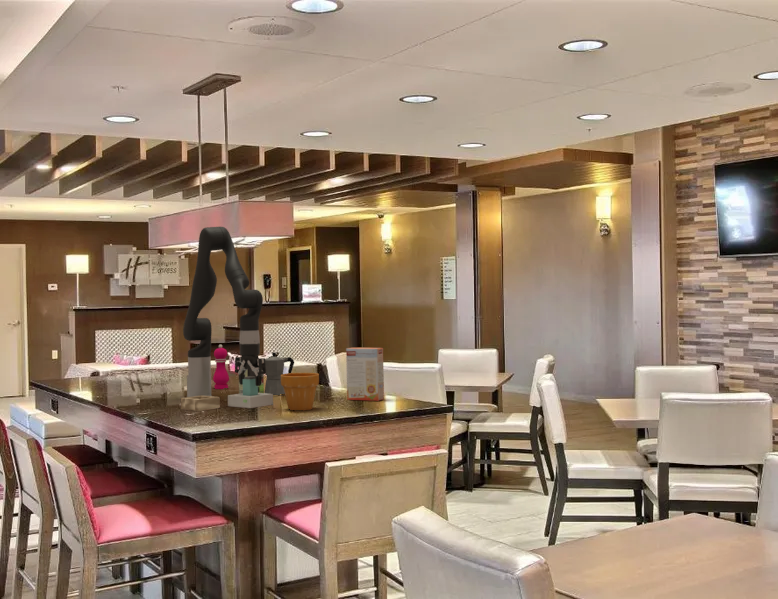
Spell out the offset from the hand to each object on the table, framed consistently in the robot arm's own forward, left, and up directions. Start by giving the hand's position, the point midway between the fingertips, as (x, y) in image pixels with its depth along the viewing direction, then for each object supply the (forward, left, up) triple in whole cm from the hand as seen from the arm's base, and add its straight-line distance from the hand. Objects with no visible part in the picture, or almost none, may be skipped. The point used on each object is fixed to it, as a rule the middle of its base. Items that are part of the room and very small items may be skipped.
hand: (250, 385), depth 345 cm
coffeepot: (-21, +36, -9) cm, 43 cm away
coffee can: (-18, +18, -9) cm, 27 cm away
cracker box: (+23, +41, -9) cm, 48 cm away
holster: (-10, -16, -9) cm, 21 cm away
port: (0, 0, -9) cm, 9 cm away
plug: (0, 0, -8) cm, 8 cm away
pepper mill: (-60, +40, -9) cm, 73 cm away
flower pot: (+19, +7, -9) cm, 22 cm away
